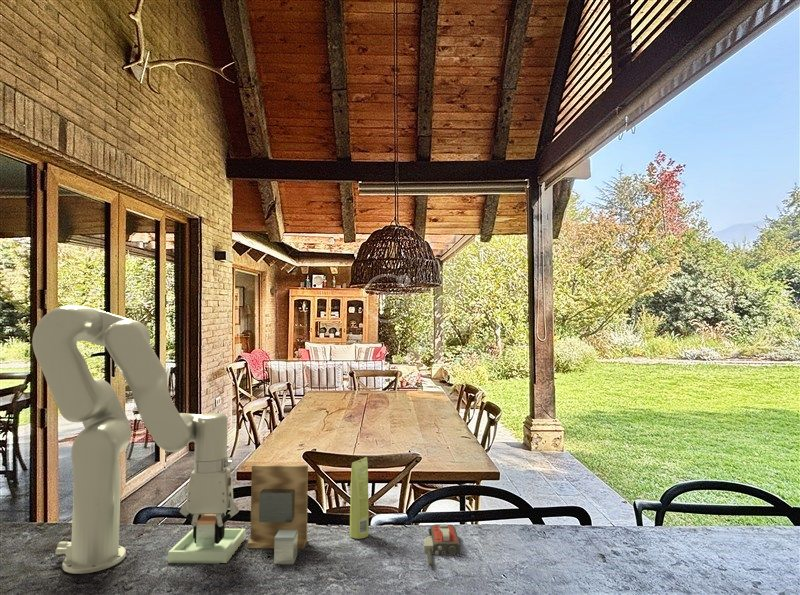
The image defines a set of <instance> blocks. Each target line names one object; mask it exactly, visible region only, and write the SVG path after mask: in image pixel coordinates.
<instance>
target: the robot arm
mask: <svg viewBox="0 0 800 595" xmlns="http://www.w3.org/2000/svg"><path fill="white" fill-rule="evenodd" d="M31 341H32V348H33V349H32V350H33V353H34V355H35V358H36V361H37V363H38V365H39V367H40V370H41V371H42V373H43V376H44V379H45V381H46V383H47V385H48V388H49V391H50V393H51V395H52V397H53V399H54V402H55V404H56V407H57V409H58V411H59V413H60V415H61V416H62V417H63V418H64V419H65V420H67V421H68V422H71V423H82V424H83V427H84V429H82V430H81V431H80V432H79V433H78V434H77V436H76V437H75V438H74V441H73V443H72V446H71V452H70V453H71V456H70V457H71V465H72V475H73V476H72V477H73V480H72V481H73V482H72V486H73V487H72V516H71V517H72V518H71V541H68V540H67V541H64V540H63V541H62V540H60V541H59V542H58V543H57V546H56V549H55V554H56V555H65V558H64V559H63V561H62V564H61V565H62V566H61V568H62V570H63V571H64V572H66V573H68V574H74V575H78V574H79V575H83V574H92V573H95V572H96V573H97V572H101V571H103V570H104V571H105V570H106V569H110V568H112V567H113V566H116V565H118V564H119V563H121V562H122V561H123V560H124V559H125V558H126V555H127V549H126V548H125V547H124V546H121V545H120V517H121V515H120V513H121V487H122V486H121V484H122V482H121V477H122V475H121V465H120V453H122V452H123V451H124V450H125V449H126V448H128V445H129V444H130V442H131V440H132V437H133V436H132V433H133V432H132V428H131V424H130V422H129V419H128V417H127V415H126V413H125V410H124V408H123V406H122V404H121V401H120V399H119V397H118V395H117V392H116V391H115V389H114V388H113V386H112V385H111V384H110V383H109V382H108V381H106V380H105V379H103V378H99V377H93V375H92V373H91V370H90V368H89V367H88V364H87V362H86V359H85V358H84V356H83V354H82V353H81V352H80V350H79V348H78V345H77V344H78V343H77V342H81V341H82V342H87V343H91V344H95V345H98V346H102V347H104V348H106V350H107V352H108V353H109V355H110V357H111V359H112V360H113V362H114V363H115V365H116V367H117V369H118V370H119V372H120V374H121V375H122V377H123V379H124V380H125V382H126V383H127V386H128V387H129V389H130V391H131V394H132V398H133V400H134V403H135V406H136V408H137V412H138V414H139V415H140V416H139V417H140V418H141V420H142V423H143V424H144V426H145V428H146V429H147V431H148V433H149V434H150V437H151V438H152V439H153V440H154V443H155V444H156V446H158V447H159V448H160V449H161V450H164V451H165V452H170V453H174V452H178V451H181V450H183V449H185V448H186V447H187V446H188V444H190V443H191V442H194V462H193V466H194V467H193V470H192V471H191V473H190V476H189V483H188V488H187V495H186V496H187V497H186V501H185V503H184V504H183V505H182V507H181V508H180V510H179V513H180V514H181V515H183V516H184V517H185V518H186V519H187V520H188V521H189V523H190V524H191V526H192V529H193V538H195V543H196V529H197V520H198V519H200V518H201V517H202V516H203V515H204V514H216V518H217V523H218V524H217V527H216V540H215V543H216V544H219V542H220V541H221V540H222V539H223V538H224V534H225V528H226V523H227V522H228V521H229V520H230V519H231V518H232V517H234V516H235V515H237V514H238V513H239V512H240V509H239V507H238V505H237V503H235V501H234V488H233V478H232V472H231V468H228V467H232V466H233V460H230V459H228V424H229V423H228V420H229V419H228V417H227V415H225V414H223V413H218V412H217V413H216V412H215V413H203V414H199V413H197V414H196V413H188V412H187V413H185V412H179V410H178V408H177V407H176V405H175V403H174V402H173V399H172V397H171V393H170V390H169V386H168V374H167V371H166V369H165V367H164V365H163V364H162V363H161V360H160V359H159V357H158V355H157V354H156V352H155V351H154V349H153V347H152V345H151V343H150V341H151V332H150V331H149V328H148V327H147V326H146V325H145V324H144V323H142V322H141V321H138V320H135V319H131V318H127V317H123V316H120V315H117V314H113V313H110V312H108V311H107V312H106V311H104V310H100V309H98V308H94V307H89V306H83V305H76V304H75V305H72V304H68V305H62V306H58V307H56V308H54V309H51V310H50V311H49V312H47V313H46V314H44V316H42V318H41V319H40V320H39V321H38V323H37V325H36V326H35V328H34V331H33V334H32V340H31ZM228 509H229V512H227V511H228ZM226 513H227V514H226Z"/></svg>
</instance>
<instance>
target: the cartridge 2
mask: <svg viewBox="0 0 800 595" xmlns="http://www.w3.org/2000/svg"><path fill="white" fill-rule="evenodd" d="M297 540H298V530H279V531H278V533H277V534H276V536H275V537H274V548H273V549H274V550H273V564H274V565H294V563H295V561H296V560H297V557H298V549H297Z"/></svg>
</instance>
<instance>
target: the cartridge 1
mask: <svg viewBox="0 0 800 595" xmlns="http://www.w3.org/2000/svg"><path fill="white" fill-rule="evenodd" d="M217 524H218V523H217V518H216V514H202V517H201V518H200V519H198V520H197V529H196V547H215V545H216V543H215V540H216V527H217Z"/></svg>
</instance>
